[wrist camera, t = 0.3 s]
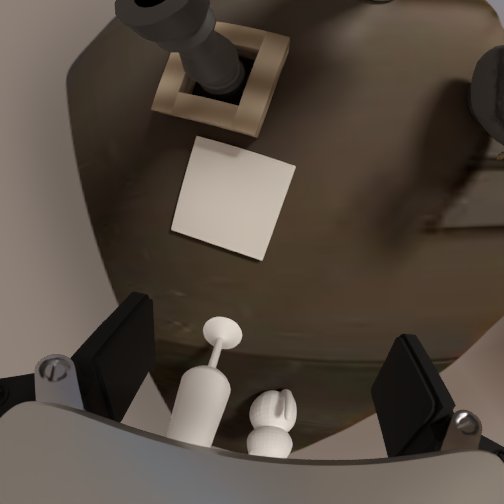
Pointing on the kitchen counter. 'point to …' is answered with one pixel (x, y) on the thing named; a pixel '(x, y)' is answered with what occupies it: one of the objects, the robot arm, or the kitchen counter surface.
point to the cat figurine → (272, 424)
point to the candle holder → (189, 41)
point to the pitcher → (489, 94)
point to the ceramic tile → (231, 197)
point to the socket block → (255, 93)
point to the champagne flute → (204, 389)
